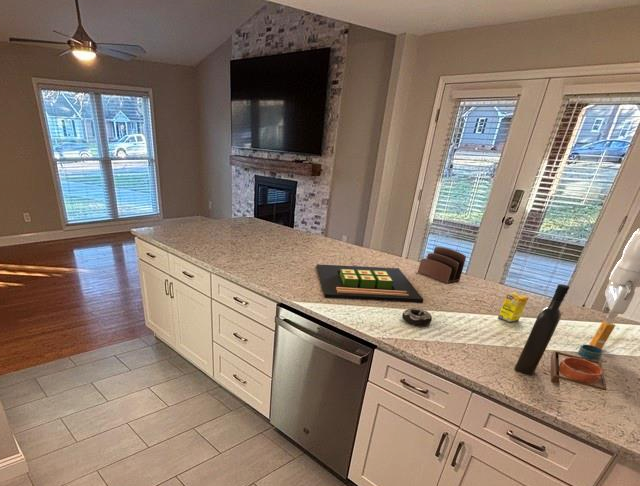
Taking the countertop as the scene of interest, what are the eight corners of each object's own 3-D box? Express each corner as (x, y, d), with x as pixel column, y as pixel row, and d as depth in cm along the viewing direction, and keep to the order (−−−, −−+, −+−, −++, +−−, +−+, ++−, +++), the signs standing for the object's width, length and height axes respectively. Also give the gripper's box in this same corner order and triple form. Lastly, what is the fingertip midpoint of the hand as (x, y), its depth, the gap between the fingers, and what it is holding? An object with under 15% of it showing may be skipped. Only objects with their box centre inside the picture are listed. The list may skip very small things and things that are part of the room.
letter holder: (429, 270, 231) (436, 244, 223) (459, 281, 217) (468, 254, 209) (417, 272, 227) (423, 246, 219) (447, 283, 213) (455, 256, 205)
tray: (597, 368, 144) (600, 362, 143) (602, 395, 130) (606, 389, 128) (550, 356, 150) (553, 350, 149) (550, 381, 135) (554, 375, 134)
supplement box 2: (602, 349, 157) (616, 325, 151) (593, 348, 157) (606, 324, 152) (598, 345, 159) (611, 321, 154) (588, 344, 160) (601, 320, 154)
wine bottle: (535, 370, 141) (576, 286, 125) (531, 376, 138) (573, 290, 121) (517, 364, 144) (555, 281, 128) (513, 370, 141) (551, 285, 124)
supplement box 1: (497, 318, 178) (506, 293, 172) (506, 315, 180) (515, 292, 174) (509, 323, 173) (519, 299, 167) (518, 321, 176) (529, 296, 170)
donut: (432, 329, 166) (435, 319, 164) (402, 325, 168) (404, 316, 166) (428, 317, 176) (430, 308, 173) (400, 314, 177) (402, 305, 175)
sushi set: (324, 297, 190) (325, 288, 187) (316, 267, 227) (317, 259, 225) (422, 302, 189) (424, 293, 187) (397, 271, 227) (399, 263, 225)
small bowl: (596, 358, 150) (602, 347, 148) (597, 366, 145) (604, 355, 143) (574, 353, 153) (580, 342, 150) (575, 361, 148) (581, 350, 146)
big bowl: (593, 376, 139) (601, 363, 137) (596, 391, 131) (604, 378, 128) (555, 366, 144) (562, 354, 141) (556, 381, 136) (562, 368, 133)
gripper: (645, 288, 124) (621, 330, 132) (635, 271, 139) (614, 309, 146) (620, 284, 127) (597, 325, 134) (612, 267, 141) (592, 305, 149)
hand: (606, 316), depth 140 cm, fingers open, 8 cm apart
